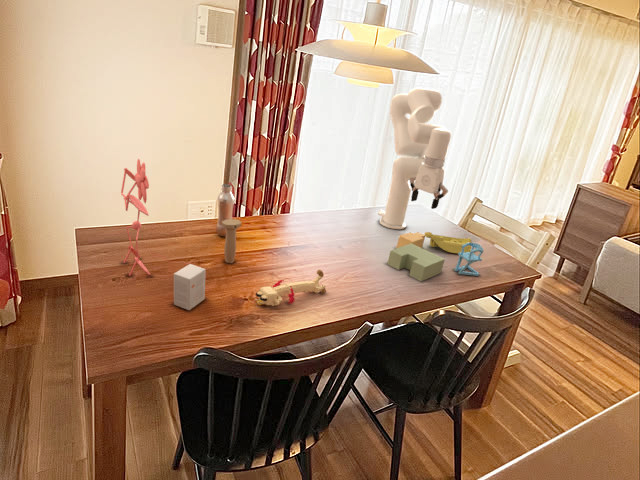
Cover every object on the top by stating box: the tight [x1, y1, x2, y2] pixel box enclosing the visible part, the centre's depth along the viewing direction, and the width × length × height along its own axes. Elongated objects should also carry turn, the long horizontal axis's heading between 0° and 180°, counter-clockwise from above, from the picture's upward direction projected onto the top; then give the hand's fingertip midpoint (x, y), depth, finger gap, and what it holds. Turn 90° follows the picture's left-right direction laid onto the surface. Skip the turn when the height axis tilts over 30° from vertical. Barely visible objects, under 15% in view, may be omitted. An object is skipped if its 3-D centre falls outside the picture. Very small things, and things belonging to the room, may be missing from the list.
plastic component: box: [424, 231, 472, 255], centre depth 208 cm, size 20×7×10 cm
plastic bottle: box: [215, 183, 235, 237], centre depth 183 cm, size 6×7×20 cm
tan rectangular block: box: [396, 231, 426, 249], centre depth 201 cm, size 7×12×6 cm, turn 135°
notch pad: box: [387, 243, 446, 282], centre depth 184 cm, size 16×14×6 cm
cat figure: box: [254, 269, 327, 307], centre depth 150 cm, size 10×9×25 cm
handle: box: [222, 218, 242, 264], centre depth 165 cm, size 5×6×15 cm
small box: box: [173, 263, 207, 311], centre depth 139 cm, size 8×6×10 cm
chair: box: [454, 242, 484, 277], centre depth 187 cm, size 8×8×12 cm
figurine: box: [120, 158, 172, 277], centre depth 148 cm, size 15×26×35 cm, turn 30°
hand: (423, 204), depth 193 cm, fingers open, 9 cm apart
